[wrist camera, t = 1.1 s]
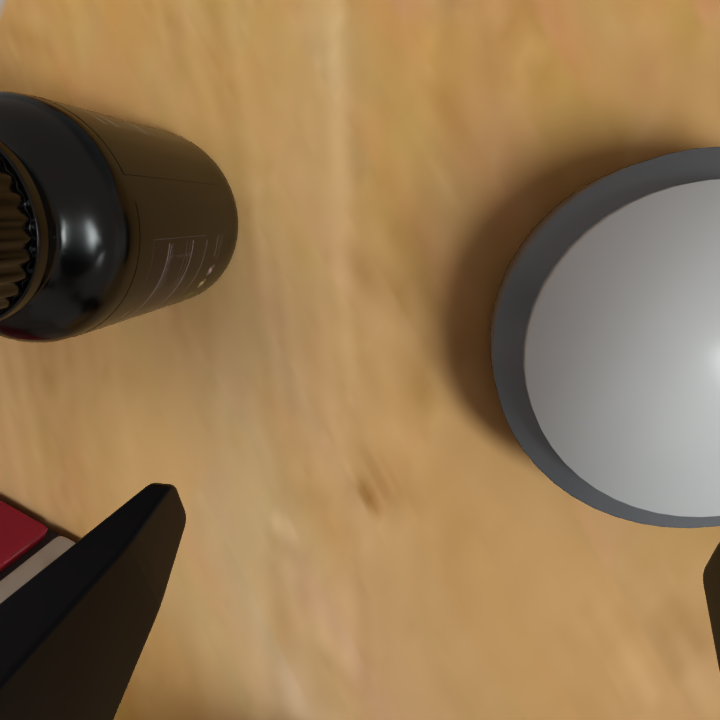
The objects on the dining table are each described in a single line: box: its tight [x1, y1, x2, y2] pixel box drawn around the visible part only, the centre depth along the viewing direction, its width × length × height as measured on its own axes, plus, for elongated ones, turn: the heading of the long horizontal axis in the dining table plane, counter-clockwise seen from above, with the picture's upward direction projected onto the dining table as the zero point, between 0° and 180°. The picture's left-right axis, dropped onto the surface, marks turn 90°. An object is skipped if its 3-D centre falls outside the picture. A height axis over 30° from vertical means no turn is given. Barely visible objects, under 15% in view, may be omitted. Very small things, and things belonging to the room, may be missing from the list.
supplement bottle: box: [0, 92, 238, 342], centre depth 18 cm, size 7×7×12 cm
